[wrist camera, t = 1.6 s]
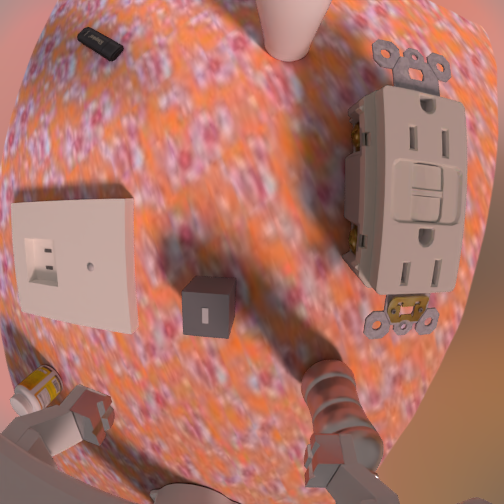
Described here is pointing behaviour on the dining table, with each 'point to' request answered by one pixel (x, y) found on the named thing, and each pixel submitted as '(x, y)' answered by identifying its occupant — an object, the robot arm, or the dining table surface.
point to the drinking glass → (290, 26)
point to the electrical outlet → (406, 190)
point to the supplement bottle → (36, 391)
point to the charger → (209, 306)
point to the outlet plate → (77, 261)
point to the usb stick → (100, 43)
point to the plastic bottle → (341, 409)
